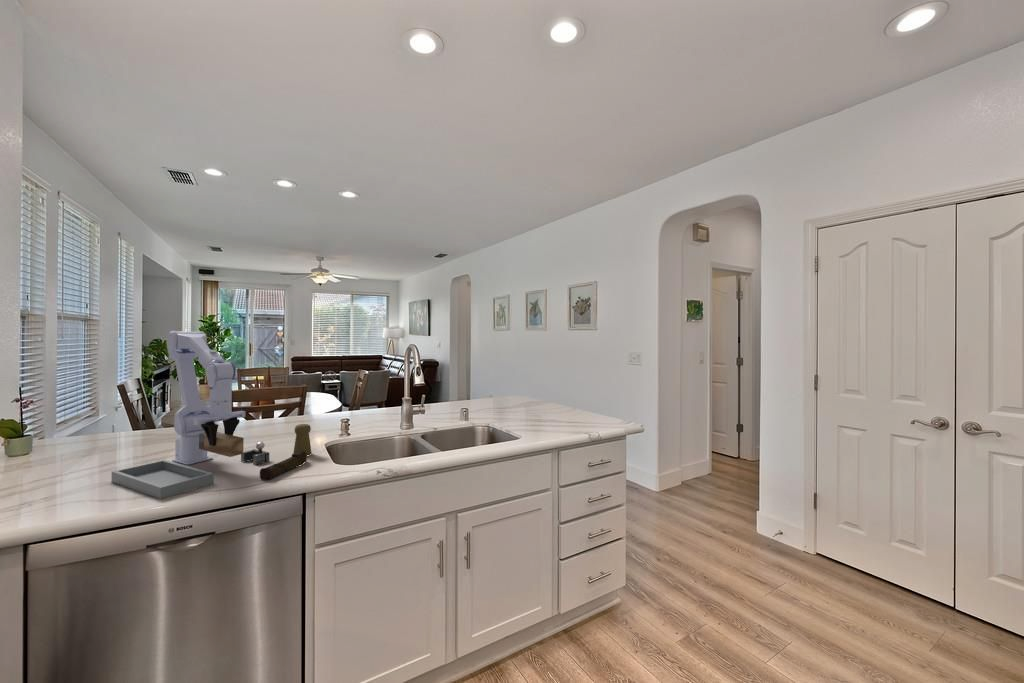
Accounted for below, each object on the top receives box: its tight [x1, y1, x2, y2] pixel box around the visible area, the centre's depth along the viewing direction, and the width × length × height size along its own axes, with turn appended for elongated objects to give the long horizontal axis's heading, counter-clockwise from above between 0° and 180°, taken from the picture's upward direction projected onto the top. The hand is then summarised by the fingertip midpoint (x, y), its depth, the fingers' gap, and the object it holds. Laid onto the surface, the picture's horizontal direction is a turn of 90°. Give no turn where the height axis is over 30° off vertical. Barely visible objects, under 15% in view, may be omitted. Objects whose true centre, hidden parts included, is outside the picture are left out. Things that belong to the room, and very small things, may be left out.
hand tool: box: [259, 450, 308, 481], centre depth 135 cm, size 19×4×5 cm, turn 167°
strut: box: [199, 431, 245, 458], centre depth 134 cm, size 4×16×5 cm, turn 65°
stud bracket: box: [240, 441, 270, 465], centre depth 144 cm, size 8×5×6 cm, turn 64°
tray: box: [111, 459, 215, 500], centre depth 122 cm, size 26×13×3 cm, turn 64°
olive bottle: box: [292, 423, 312, 456], centre depth 152 cm, size 6×6×11 cm
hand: (220, 443), depth 134 cm, fingers closed on strut, 4 cm apart
